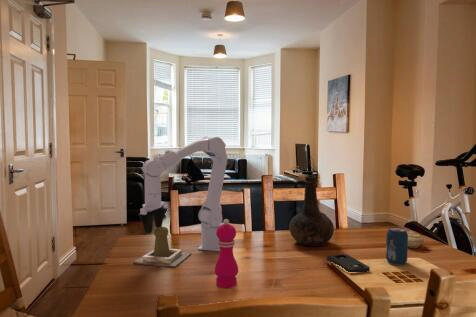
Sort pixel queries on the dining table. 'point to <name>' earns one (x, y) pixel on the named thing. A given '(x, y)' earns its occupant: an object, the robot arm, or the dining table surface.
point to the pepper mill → (226, 256)
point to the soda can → (396, 246)
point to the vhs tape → (348, 263)
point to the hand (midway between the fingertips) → (153, 230)
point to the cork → (161, 242)
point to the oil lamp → (414, 239)
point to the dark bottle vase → (311, 219)
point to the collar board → (163, 259)
